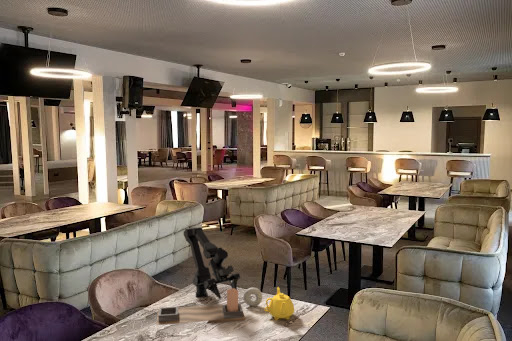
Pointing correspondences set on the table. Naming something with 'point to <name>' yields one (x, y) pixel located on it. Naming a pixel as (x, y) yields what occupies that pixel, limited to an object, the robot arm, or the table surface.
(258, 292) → the donut
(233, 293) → the block
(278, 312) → the teapot
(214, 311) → the puzzle board
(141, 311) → the table surface
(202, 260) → the robot arm
